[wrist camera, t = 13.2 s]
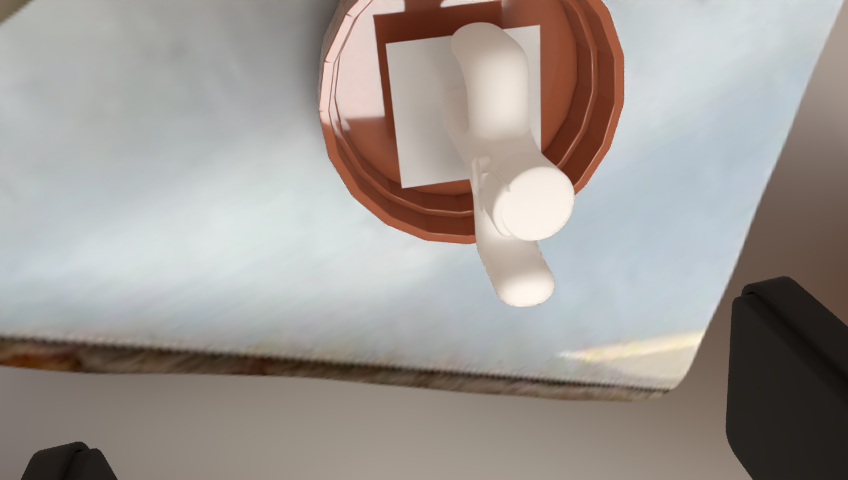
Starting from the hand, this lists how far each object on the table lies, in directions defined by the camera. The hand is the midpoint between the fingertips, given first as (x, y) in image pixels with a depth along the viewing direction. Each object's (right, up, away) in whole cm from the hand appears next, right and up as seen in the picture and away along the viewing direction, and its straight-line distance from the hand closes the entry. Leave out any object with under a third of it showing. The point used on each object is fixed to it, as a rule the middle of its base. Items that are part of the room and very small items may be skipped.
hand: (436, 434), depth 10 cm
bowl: (+2, +11, +27) cm, 29 cm away
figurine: (+1, +11, +27) cm, 29 cm away
